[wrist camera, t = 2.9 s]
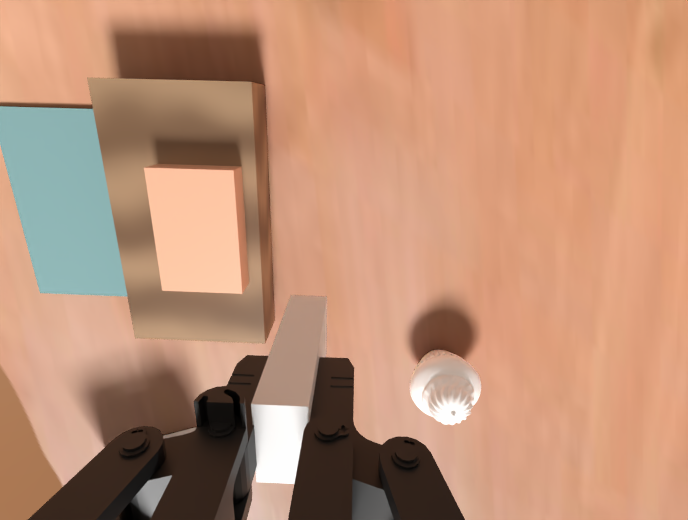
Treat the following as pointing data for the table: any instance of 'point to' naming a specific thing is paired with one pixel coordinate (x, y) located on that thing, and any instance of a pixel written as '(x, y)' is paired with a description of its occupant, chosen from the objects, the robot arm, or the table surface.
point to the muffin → (445, 386)
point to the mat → (62, 199)
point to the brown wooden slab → (186, 149)
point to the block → (199, 227)
